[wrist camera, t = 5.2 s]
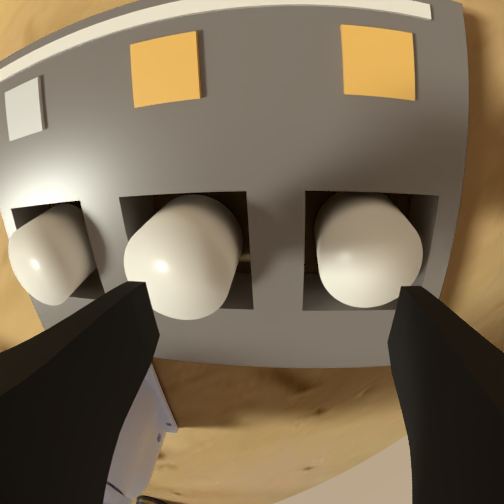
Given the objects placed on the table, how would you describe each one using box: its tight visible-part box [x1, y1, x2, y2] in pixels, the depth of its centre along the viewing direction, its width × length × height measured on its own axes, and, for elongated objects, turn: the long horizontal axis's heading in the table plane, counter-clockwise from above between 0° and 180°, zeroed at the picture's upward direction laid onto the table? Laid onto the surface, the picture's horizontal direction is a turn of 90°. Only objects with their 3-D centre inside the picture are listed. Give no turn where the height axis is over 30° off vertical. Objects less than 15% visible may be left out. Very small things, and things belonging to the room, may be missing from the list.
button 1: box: [314, 191, 423, 308], centre depth 12 cm, size 4×4×3 cm
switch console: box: [0, 0, 469, 368], centre depth 13 cm, size 16×21×3 cm
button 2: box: [8, 204, 97, 306], centre depth 13 cm, size 4×4×3 cm
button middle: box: [124, 194, 243, 320], centre depth 12 cm, size 4×4×3 cm
